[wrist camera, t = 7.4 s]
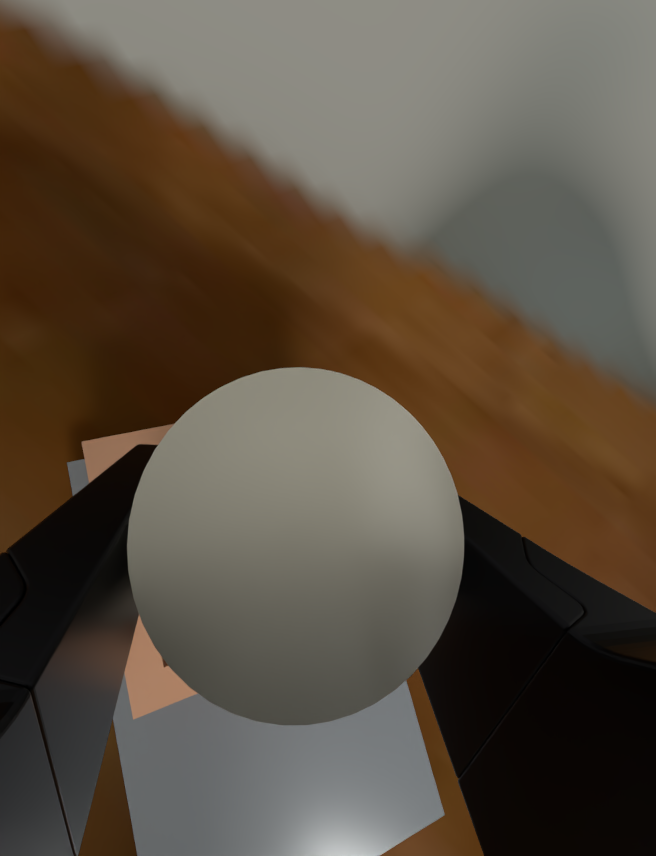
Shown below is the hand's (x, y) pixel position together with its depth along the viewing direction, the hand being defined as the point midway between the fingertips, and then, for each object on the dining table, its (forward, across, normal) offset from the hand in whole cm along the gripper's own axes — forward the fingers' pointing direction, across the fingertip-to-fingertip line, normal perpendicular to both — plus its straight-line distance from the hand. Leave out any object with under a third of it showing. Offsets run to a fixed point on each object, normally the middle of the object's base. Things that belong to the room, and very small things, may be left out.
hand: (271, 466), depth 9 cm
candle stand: (+3, -1, +10) cm, 11 cm away
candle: (+4, 0, +6) cm, 7 cm away
